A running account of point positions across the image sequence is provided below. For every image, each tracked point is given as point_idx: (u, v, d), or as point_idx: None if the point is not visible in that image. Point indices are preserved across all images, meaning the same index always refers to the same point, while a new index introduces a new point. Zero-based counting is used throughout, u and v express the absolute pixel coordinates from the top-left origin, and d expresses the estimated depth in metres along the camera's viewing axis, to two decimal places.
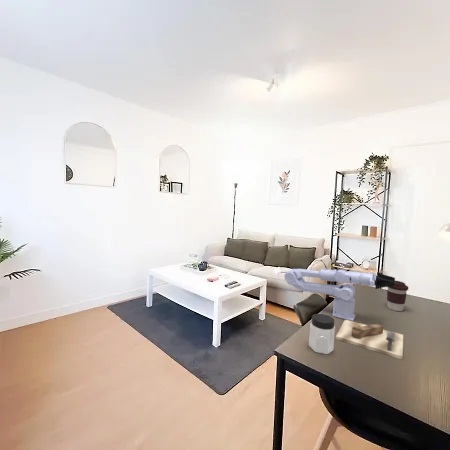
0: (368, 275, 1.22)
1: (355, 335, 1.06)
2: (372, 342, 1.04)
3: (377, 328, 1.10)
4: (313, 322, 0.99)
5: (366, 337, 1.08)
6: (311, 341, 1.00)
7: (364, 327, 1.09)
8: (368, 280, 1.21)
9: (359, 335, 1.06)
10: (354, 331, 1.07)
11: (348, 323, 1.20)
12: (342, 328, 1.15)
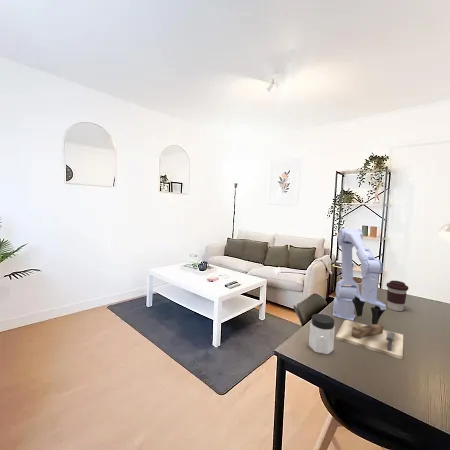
0: (361, 295, 1.09)
1: (355, 335, 1.06)
2: (372, 342, 1.04)
3: (377, 328, 1.10)
4: (313, 322, 0.99)
5: (366, 337, 1.08)
6: (311, 341, 1.00)
7: (364, 327, 1.09)
8: None
9: (359, 335, 1.06)
10: (354, 331, 1.07)
11: (348, 323, 1.20)
12: (342, 328, 1.15)
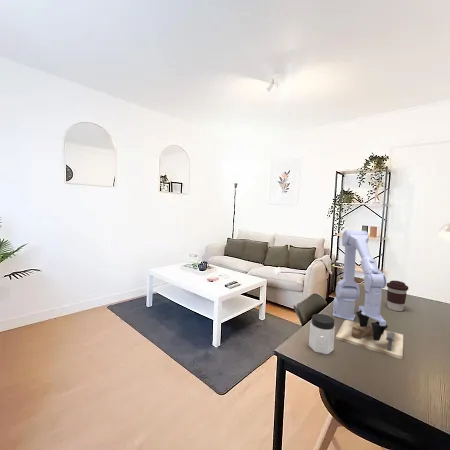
0: (364, 308, 1.07)
1: (355, 335, 1.06)
2: (372, 342, 1.04)
3: None
4: (313, 322, 0.99)
5: (366, 337, 1.08)
6: (311, 341, 1.00)
7: (364, 327, 1.09)
8: None
9: (359, 335, 1.06)
10: (354, 331, 1.07)
11: (348, 323, 1.20)
12: (342, 328, 1.15)
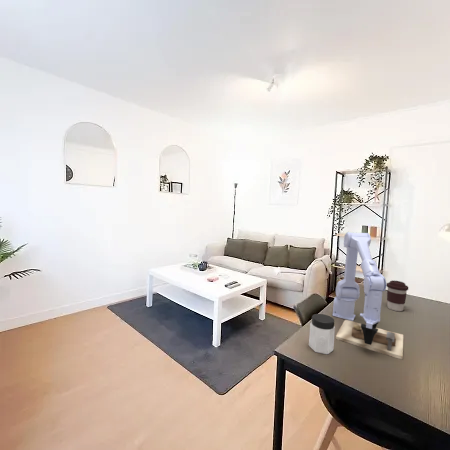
0: None
1: (352, 333, 1.08)
2: (372, 342, 1.04)
3: (384, 337, 1.02)
4: (313, 322, 0.99)
5: None
6: (311, 341, 1.00)
7: None
8: None
9: (355, 335, 1.06)
10: (352, 329, 1.08)
11: (348, 323, 1.20)
12: (342, 328, 1.15)
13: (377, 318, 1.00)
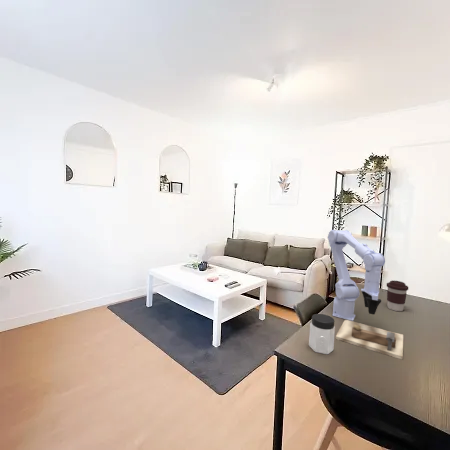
0: None
1: (352, 333, 1.08)
2: (372, 342, 1.04)
3: (384, 338, 1.02)
4: (313, 322, 0.99)
5: None
6: (311, 341, 1.00)
7: (369, 331, 1.06)
8: None
9: (355, 334, 1.06)
10: (352, 329, 1.08)
11: (348, 323, 1.20)
12: (342, 328, 1.15)
13: (378, 290, 1.12)
